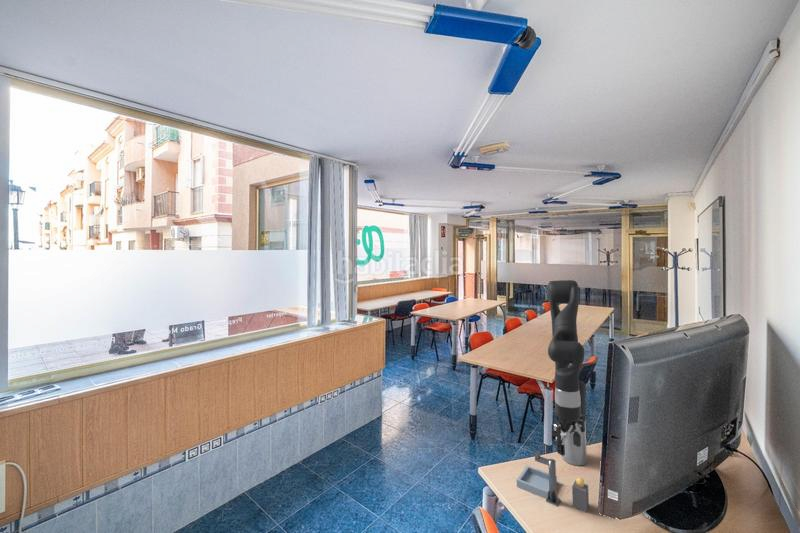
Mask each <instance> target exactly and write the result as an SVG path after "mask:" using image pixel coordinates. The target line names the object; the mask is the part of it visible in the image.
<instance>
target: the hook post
mask: <svg viewBox="0 0 800 533" xmlns="http://www.w3.org/2000/svg"><path fill="white" fill-rule="evenodd" d="M534 462H537V463H540V464H543V465H546V466H548V473H549V497H548V498H547V499H545V502H547V503H549V504H552V505H553V506H556V507H558V505H559V503H560V501H561V498H559V497H557V484H556V476H557V475H556V474H557V470H556V469H557V468H556V467H557V466H556V460H555V459H553V458H546V457H543V456H541V451H539V450H535V451H534Z"/></svg>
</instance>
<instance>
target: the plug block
mask: <svg viewBox="0 0 800 533" xmlns="http://www.w3.org/2000/svg"><path fill="white" fill-rule="evenodd" d="M571 487H572V488H571V489H572V492H571V493H572V508H574V509H576V510H579V511H581V512H584V513H587V511H588V509H589V504H590V503H589V501H590V500H589V495H590V494H589V485H588V484H587V483H585V480H584V479H583V478H582V477H577V478H576V480H574V482H573V484H572V486H571Z"/></svg>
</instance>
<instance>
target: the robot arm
mask: <svg viewBox="0 0 800 533" xmlns="http://www.w3.org/2000/svg"><path fill="white" fill-rule="evenodd" d="M547 297H548V303H549V311H550V316H551V317H550V318H551V331H552V332H551V333H552V335H551V336H552V338H551V340H550V342H549V345H548V349H547V356H548V358H549V359H550V360H551V361H552V362H554V364H555V365H554V366H555V368H554V369H555V372H554V382H555V384H554V386H555V388H554V389H555V390H554V408H555V409H554V410H555V415H556V416H557V417H558V421H557V423H554V422H553V423H552V424H551V442H552V443H555V444H556V452H557V454H558V455H560V456H561V458H562V459H563V461H564V462H566V463H568V464H570V465H574V466H584V465H586V464H587V463H588V459H587V458H588V457H587V456H588V455H587V420H586V419H587V418H586V415H587V414H586V413H587V412H586V410H587V409H586V405H587V387H586V383H585V382H584V380H580V371H581V367H582V365H583V361H584V358H585V348H584V346H583V345H582V343H580V342H579V337H578V331H577V330H578V328H577V327H578V326H577V317H578V310H579V301H580V288H579V285H578V282H577V281H576V280H572V279H570V280H568V279H565V280H564V279H563V280H560V279H559V280H550V281H549V282H548V283H547ZM559 304H563V305H564V304H565V305H566V304H567V305H566V306H565V307H563V309H560V306H559ZM570 364H571V365H570Z"/></svg>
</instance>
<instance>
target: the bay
mask: <svg viewBox="0 0 800 533" xmlns="http://www.w3.org/2000/svg"><path fill="white" fill-rule="evenodd" d="M557 483H558V477H557V475H556V485H557ZM516 487H517V488H519V489H522V490H524V491H527V492H529V493H531V494H534V495H537V496H538V497H540V498H543V499H545V500H546V499H547V498H548V497H549V472H547V471H543V470H541V469H538V468H536V467H533V466H530V465H527V464H526V466H525V467H524V469H523V471H522V472H521V473H520V474H519V476H518V477H517V478H516Z"/></svg>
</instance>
